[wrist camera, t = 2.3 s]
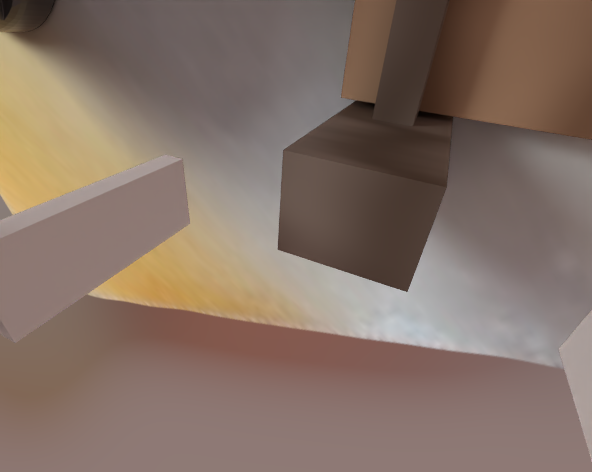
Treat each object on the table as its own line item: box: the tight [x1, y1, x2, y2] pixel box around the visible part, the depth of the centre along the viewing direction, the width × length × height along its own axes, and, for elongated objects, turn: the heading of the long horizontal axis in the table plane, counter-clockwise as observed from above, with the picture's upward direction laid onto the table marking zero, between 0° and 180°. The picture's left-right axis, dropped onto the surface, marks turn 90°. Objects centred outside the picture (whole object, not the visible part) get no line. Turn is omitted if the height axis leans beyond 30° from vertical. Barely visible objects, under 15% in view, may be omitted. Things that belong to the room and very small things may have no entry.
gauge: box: [278, 0, 453, 292], centre depth 12 cm, size 5×16×10 cm, turn 174°
